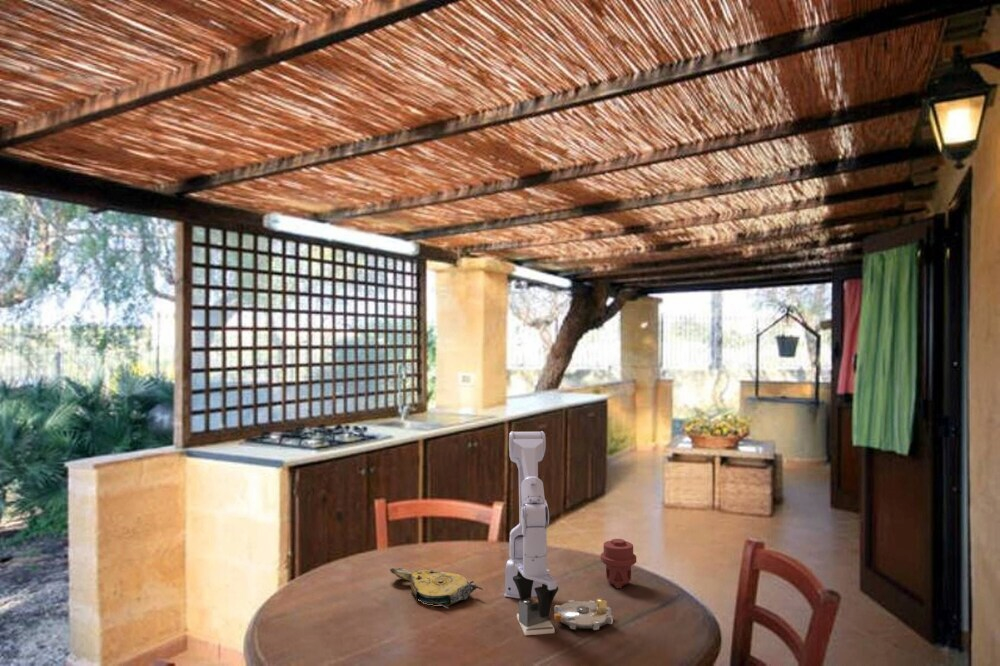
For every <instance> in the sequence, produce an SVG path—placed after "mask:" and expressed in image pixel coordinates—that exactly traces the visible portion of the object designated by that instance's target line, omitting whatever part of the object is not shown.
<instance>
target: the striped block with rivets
mask: <svg viewBox="0 0 1000 666" xmlns="http://www.w3.org/2000/svg"><path fill="white" fill-rule="evenodd" d="M518 613H519V621H518V623H519V622H520V623H522V624H523V625H525V626H527V627H529V626H533V625H536V624H539V623H543V622H546V621H550V622H551V620H552V619H551V618H552V607H551V608H550V612H549V616H547V617H543V618H542V617H540V613H539V602H538V597H537V596H535V597H529V598H527V599H523V600H518ZM520 623H519V624H520Z"/></svg>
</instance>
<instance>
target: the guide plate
mask: <svg viewBox="0 0 1000 666" xmlns="http://www.w3.org/2000/svg"><path fill="white" fill-rule="evenodd" d="M516 619H517V621H518V623H519V626H520V628H521V629H522V631H523V634H524V636H532V635H534V636H535V635H536V636H537V635H548V634H555V632H556V631H555V630H556V629H555V627H554V626H553V624H552V622H551V620H550V621H546V622H543V623H539V624H536V625H533V626H529V627H527V626H525V625H523V624H522V623H520V622H519V612H518V613H516Z"/></svg>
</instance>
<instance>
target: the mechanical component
mask: <svg viewBox="0 0 1000 666" xmlns="http://www.w3.org/2000/svg"><path fill="white" fill-rule="evenodd" d="M600 561H601V562H602V563H603V564H604V565H605V569H606V570H605V577H606V580H607V582H608V583H609V584H612V586H613V585H614V586H615V588H616V589H618V588H620V589H622V587H624V586H625V585H629V584H630V582H631V581H632V566H633V565H635V564H636V563H637V555H636V554H634V544H633V543H631V542H630V541H625V539H621V538H613V539H611V540H608V541H605V542H604V543H603V551H602V553H600Z"/></svg>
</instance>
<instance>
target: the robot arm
mask: <svg viewBox="0 0 1000 666" xmlns="http://www.w3.org/2000/svg"><path fill="white" fill-rule="evenodd" d="M508 435H509V436H508V450H509V453H508V454H509V458H510V461H511V462H513V463H514V464H516V466H517V469H518V507H519V508H518V509H519V511H518V512H519V515H518V516H519V518H518V519H519V523H518V524H517V525H516V526H514V527H513V528H512V529H511V530H510V532H509V545H508V548H509V549H508V550H509V559H507V562H506V564H505V571H504V572H505V573H504V580H505V581H504V583H505V584H504V591H505V592H504V594H503V595H504V597H507V598H514V599H520V600H523V599H527V598H529V597H535V596H537V597H538V602H539V613H540V617H542V618H543V617H547V616H549V612H550V608H551V609H552V604H553V601H554V599H555V596H556V595H557V593H558V592H559V587H558V585H557V580H556V579H555V578H553V577H552V575H551V574H550V573H551V570H550V569H548V567H547V566H548V565H547V564H548V556H547V555H548V554H547V551H548V550H547V547H548V546H547V545H548V544H547V541H548V539H547V538H548V537H547V535H548V533H547V532H548V531H547V528H549V523H550V511H549V506H548V502H547V499H546V498H545V489H544V482H543V480H542V479H540V478H539V462H542V461H543V458H544V456H545V453H546V447H547V446H546V445H547V444H546V440H547V439H546V433H545V432H544V431H543V430H541V431H512V430H511V431H510V432H509V434H508ZM520 600H519V601H520Z"/></svg>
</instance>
